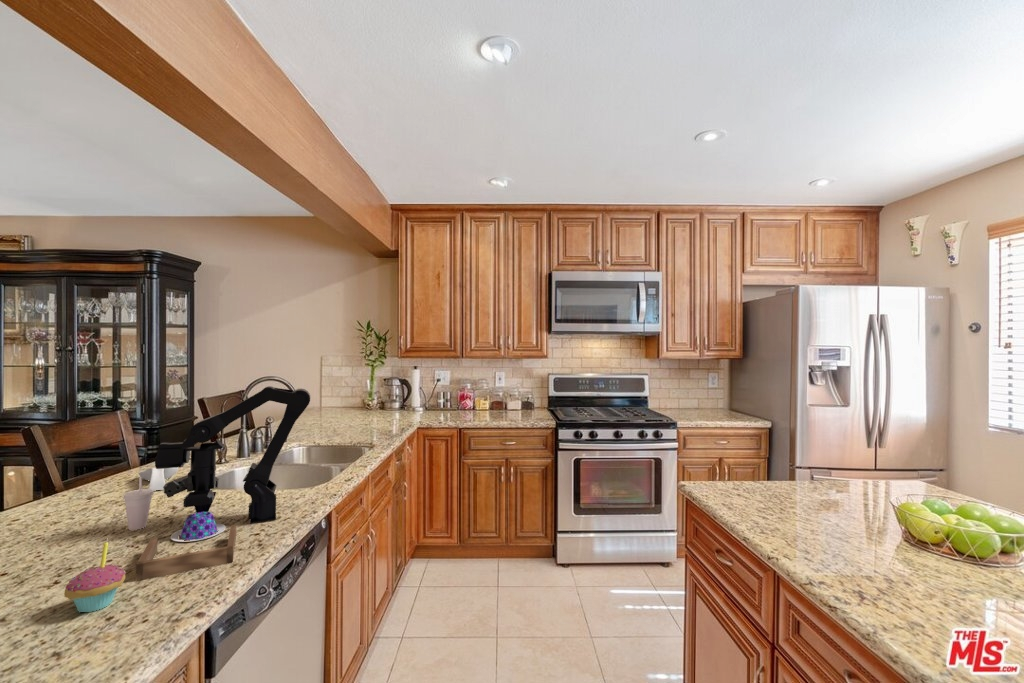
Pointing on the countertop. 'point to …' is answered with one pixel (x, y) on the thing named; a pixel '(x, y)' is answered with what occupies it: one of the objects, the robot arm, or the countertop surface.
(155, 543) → the bay
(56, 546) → the countertop surface
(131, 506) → the smoothie
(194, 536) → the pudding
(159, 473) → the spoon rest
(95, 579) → the cupcake
